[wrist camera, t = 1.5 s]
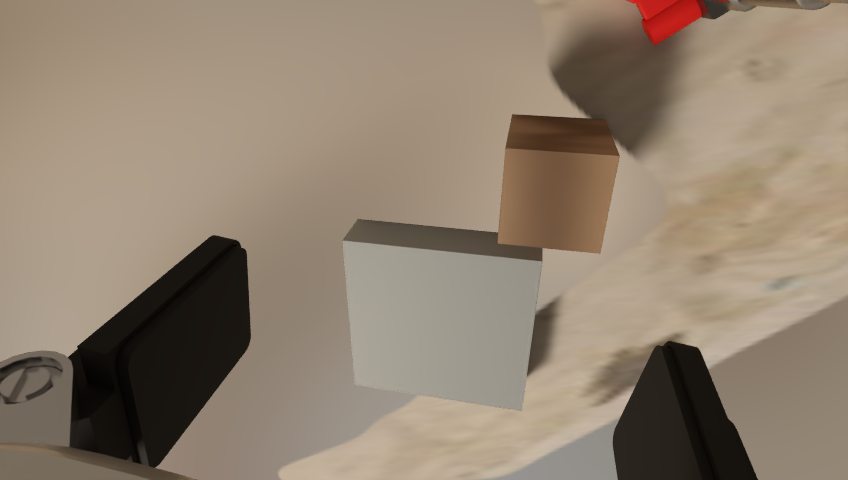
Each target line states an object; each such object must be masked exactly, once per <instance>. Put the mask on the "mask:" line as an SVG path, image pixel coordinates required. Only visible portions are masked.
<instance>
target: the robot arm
mask: <svg viewBox="0 0 848 480" xmlns="http://www.w3.org/2000/svg"><path fill="white" fill-rule="evenodd" d="M250 332H251V331H250V311H249V291H248V269H247V253H246V250H245V249H244V248H241V245H240V243H239V242H238V241H237V240H233V239H229V238H224V237H220V236H215V235H214V236H211V237H209V238H208V239H207V240H206V241H205V242H203V243H202V244H201V245H200V246H198V247H197V248H196V249H195V250H193V251H192V252H191V253H190V254H189V255H187V256H186V257H185V258H184V259H183V260H182V261H180V262H179V263H178V264H177V265H175V266H174V267H173V268H172V269H170V270H169V271H168V272H167V273H166V274H165V275H163V276H162V277H161V278H160V279H159V280H157V281H156V282H155V283H154V284H152V285H151V286H150V287H149V288H147V289H146V290H145V291H144V292H143V293H141V294H140V295H139V296H138V297H137V298H135V299H134V300H133V301H132V302H130V303H129V304H128V305H127V306H126V307H124V308H123V309H122V310H121V311H120V312H118V313H117V314H116V315H115V316H114V317H112V318H111V319H110V320H109V321H107V322H106V323H105V324H104V325H103V326H101V327H100V328H99V329H98V330H97V331H95V332H94V333H93V334H92V335H90V336H89V337H88V338H87V339H86V340H84V341H83V342H82V343H81V344H80V345H78V346H77V347H78V349H77V350H76V351H75V352H74V353H72V354H71V355H70V356H69V357H68V358H67V357H66V356H65V355H63V354H60V353H58V352H53V351H36V352H28V353H24V354H20V355H17V356H13V357H11V358H9V359H6V360H4V361H2V362H0V480H197V479H193V478H190V477H186V476H183V475H179V474H176V473H172V472H168V471H164V470H161V469H157V468H155V467H156V466H158V465H159V464H160V463H161V462H162V460H163V459H164V457H165V456H166V455H167V454H168V452H169V451H170V450H171V449H172V447H173V446H174V445H175V443H176V442H177V441H178V439H179V438H180V437H181V435H182V434H183V433H184V431H185V430H186V429H187V428H188V426H189V425H190V424H191V422H192V421H193V420H194V418H195V417H196V416H197V414H198V413H199V412H200V411H201V409H202V408H203V407H204V405H205V404H206V402H207V401H208V400H209V399H210V397H211V396H212V395H213V393H214V392H215V391H216V389H217V388H218V387H219V386H220V384H221V383H222V382H223V380H224V379H225V377H226V376H227V375H228V374H229V372H230V371H231V370H232V369H233V367H234V366H235V365H236V363H237V362H238V361H239V359H240V358H241V357H242V355H243V354H244V353H245V351H246V350H247V348H248V346H249V343H250V339H251V333H250ZM613 450H614V456H615V463H616V470H617V477H618V480H758V479H757V477H756V474H755V472H754V470H753V467H752V465H751V462H750V460H749V457H748V455H747V453H746V450H745V448H744V446H743V443H742V441H741V438H740V436H739V434H738V431H737V429H736V428H735V426H734V424H733V423H732V422H731V421H730V420H729V419H728V418H727V415H726V413H725V410H724V408H723V405H722V403H721V400H720V398H719V396H718V393H717V391H716V388H715V386H714V383H713V381H712V378H711V376H710V374H709V371H708V369H707V366H706V364H705V361H704V359H703V356H702V354H701V352H700V350H699V349H698V348H697V347H694V346H689V345H685V344H681V343H676V342H672V341H668V342H666V343H665V344H664V346H659V345H658V346H656V347H655V348H654V350H653V352H652V354H651V356H650V358H649V360H648V362H647V364H646V366H645V368H644V370H643V372H642V374H641V376H640V378H639V381H638V383H637V385H636V387H635V389H634V391H633V393H632V395H631V397H630V399H629V401H628V403H627V405H626V407H625V409H624V411H623V413H622V415H621V418H620V420H619V422H618V424H617V426H616V428H615V431H614V435H613Z"/></svg>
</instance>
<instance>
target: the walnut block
mask: <svg viewBox="0 0 848 480" xmlns="http://www.w3.org/2000/svg"><path fill="white" fill-rule="evenodd" d="M618 162H619V153H618V150H617V148H616V145H615V143H614V140H613V138H612V135H611V133H610V130H609V128H608V125H607V123H606V120H602V119H588V118H569V117H550V116H532V115H514V114H513V115H512V118H511V124H510V128H509V133H508V139H507V143H506V148H505V160H504V172H503V184H502V196H501V209H500V220H499V232H498V243H499V244H509V245H519V246H529V247H539V248H549V249H559V250H569V251H580V252H589V253H600V252H601V247H602V242H603V237H604V232H605V227H606V222H607V217H608V212H609V206H610V202H611V197H612V192H613V187H614V181H615V177H616V172H617V167H618Z"/></svg>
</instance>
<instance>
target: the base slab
mask: <svg viewBox="0 0 848 480" xmlns="http://www.w3.org/2000/svg"><path fill="white" fill-rule="evenodd" d="M343 252H344V264H345V276H346V287H347V299H348V310H349V321H350V334H351V345H352V357H353V369H354V380H355V385H359V386H366V387H372V388H378V389H385V390H391V391H398V392H404V393H410V394H416V395H423V396H429V397H435V398H442V399H448V400H455V401H461V402H467V403H474V404H480V405H486V406H493V407H499V408H505V409H512V410H518V411H522V407H523V400H524V392H525V385H526V378H527V370H528V363H529V356H530V348H531V341H532V333H533V326H534V319H535V311H536V304H537V297H538V289H539V282H540V275H541V267H542V248H539V247H529V246H519V245H509V244H499V243H498V233H496V232H485V231H475V230H464V229H454V228H444V227H434V226H423V225H413V224H402V223H392V222H381V221H372V220H361V219H358V220H357V221H356V223H355V224H354V225H353V227H352V228H351V229H350V231H349V232H348V234H347V235H346V236H345V238H344V239H343Z"/></svg>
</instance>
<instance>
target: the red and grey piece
mask: <svg viewBox="0 0 848 480" xmlns="http://www.w3.org/2000/svg"><path fill="white" fill-rule="evenodd" d="M627 1H629V2H631V3H635V4H636V5H637V7H638V9H639V11H640V12H641V14H642V16H643V18H644V19H642V25H643V28H644V30H645V32H646V34H647V36H648V37H649V39H650V40H651V42H652V43H653V44H654V45H656V44H658V43H660V42H661V41H663V40H665V39H666V38H668V37H669V36H671V35H673V34H674V33H676V32H678V31H679V30H681V29H683V28H684V27H686V26H687V25H689V24H691V23H692V22H694V21H696V20H697V19H699V18H701V17H703V18H708V19H716V18H718V17H720V16H721V15H723V14H725V13H726V12H728V11H730V10H734V11H743V12H747V11H749V10H751V9H753V8H755V7H756V6H764V7H778V8H791V9H805V10H817V9H821V8H823V7H826V6H827V5H829V4H830V3H847V4H848V0H627Z"/></svg>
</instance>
